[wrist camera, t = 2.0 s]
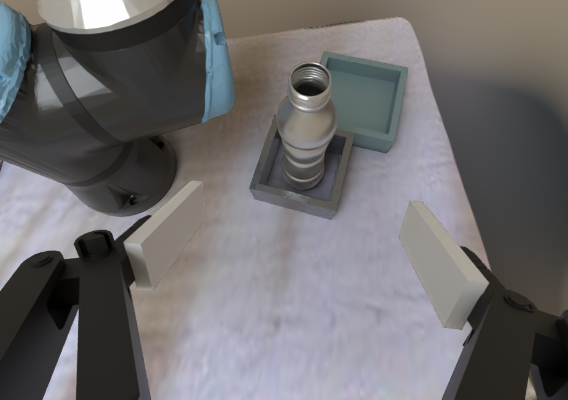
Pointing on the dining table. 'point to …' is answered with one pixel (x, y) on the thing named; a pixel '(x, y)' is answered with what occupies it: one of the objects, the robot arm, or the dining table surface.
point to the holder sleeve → (295, 201)
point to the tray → (366, 98)
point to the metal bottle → (306, 124)
